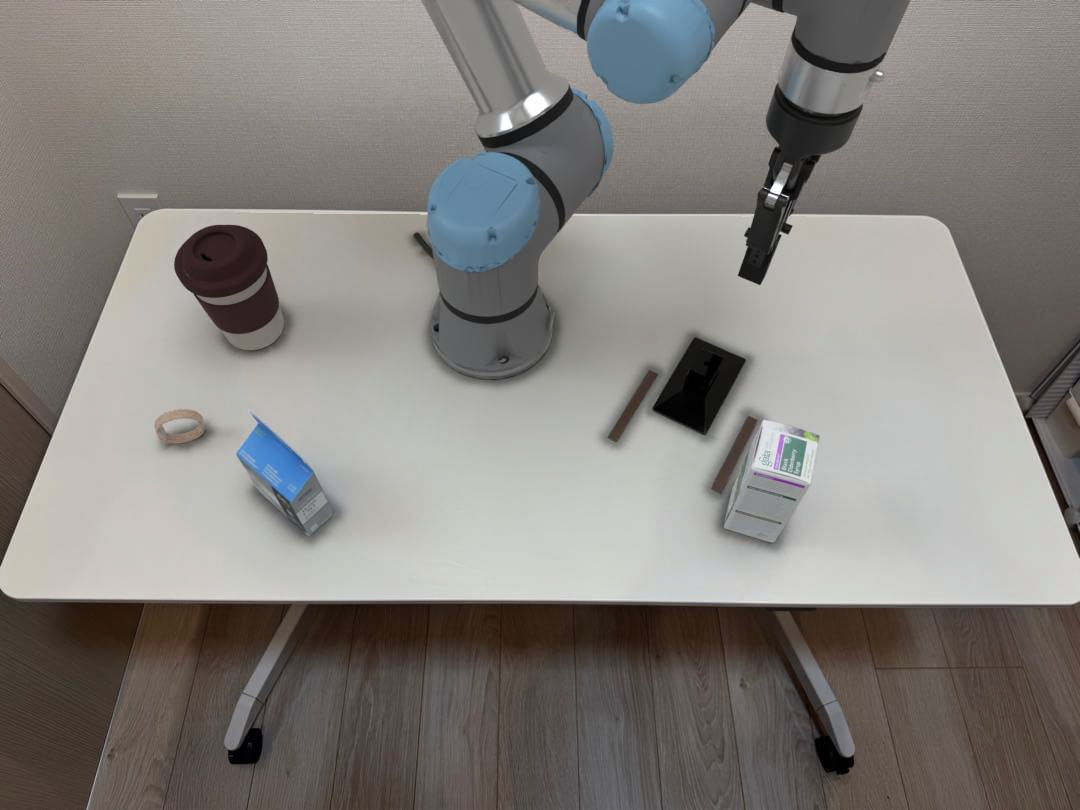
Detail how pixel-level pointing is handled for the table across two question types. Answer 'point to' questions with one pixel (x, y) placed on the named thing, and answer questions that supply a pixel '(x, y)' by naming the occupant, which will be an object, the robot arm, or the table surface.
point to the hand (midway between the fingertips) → (751, 276)
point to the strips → (731, 457)
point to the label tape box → (284, 478)
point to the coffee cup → (232, 283)
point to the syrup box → (771, 480)
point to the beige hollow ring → (171, 415)
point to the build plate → (699, 385)
